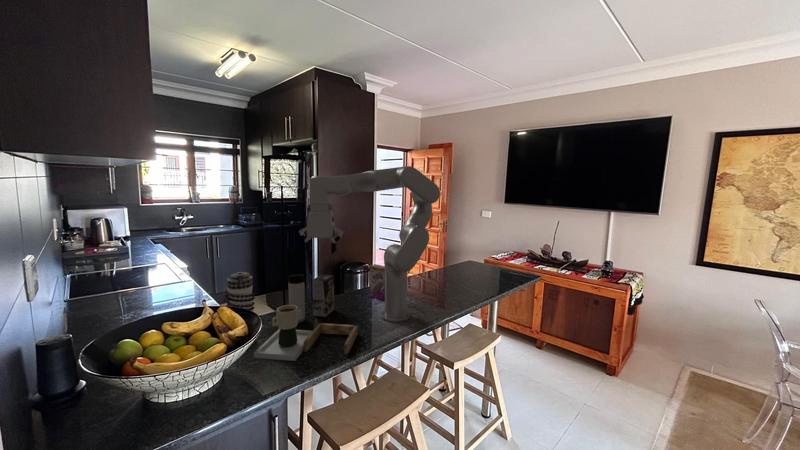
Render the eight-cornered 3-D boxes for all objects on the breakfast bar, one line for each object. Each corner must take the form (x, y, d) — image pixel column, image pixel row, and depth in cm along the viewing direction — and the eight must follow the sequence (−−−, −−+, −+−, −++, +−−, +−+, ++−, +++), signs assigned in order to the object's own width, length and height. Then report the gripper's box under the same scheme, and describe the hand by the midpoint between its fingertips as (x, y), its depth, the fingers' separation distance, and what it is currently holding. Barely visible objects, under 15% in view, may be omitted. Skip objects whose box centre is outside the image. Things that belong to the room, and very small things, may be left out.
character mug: (297, 335, 121) (296, 301, 119) (307, 342, 116) (306, 307, 114) (268, 345, 113) (267, 309, 111) (277, 353, 108) (276, 315, 107)
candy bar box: (368, 297, 165) (368, 265, 163) (374, 294, 169) (374, 263, 167) (386, 301, 159) (387, 269, 157) (392, 299, 164) (393, 267, 162)
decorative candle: (228, 338, 119) (225, 271, 116) (256, 333, 123) (253, 269, 120) (226, 349, 111) (223, 278, 108) (256, 344, 115) (254, 275, 112)
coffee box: (326, 317, 140) (326, 280, 138) (312, 315, 141) (311, 279, 139) (334, 309, 148) (334, 274, 147) (321, 308, 150) (321, 273, 148)
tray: (315, 335, 123) (315, 330, 122) (295, 360, 105) (295, 355, 105) (279, 333, 124) (279, 328, 124) (253, 357, 106) (253, 352, 106)
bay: (357, 334, 124) (357, 325, 124) (347, 354, 109) (347, 344, 109) (319, 331, 126) (318, 323, 125) (303, 351, 111) (303, 341, 110)
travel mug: (290, 325, 131) (289, 276, 129) (288, 319, 137) (287, 272, 135) (306, 322, 134) (305, 275, 132) (303, 316, 140) (302, 271, 137)
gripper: (345, 208, 128) (345, 251, 130) (302, 207, 129) (303, 249, 131) (340, 209, 120) (340, 255, 122) (294, 208, 122) (295, 253, 124)
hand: (321, 252), depth 127 cm, fingers open, 9 cm apart
